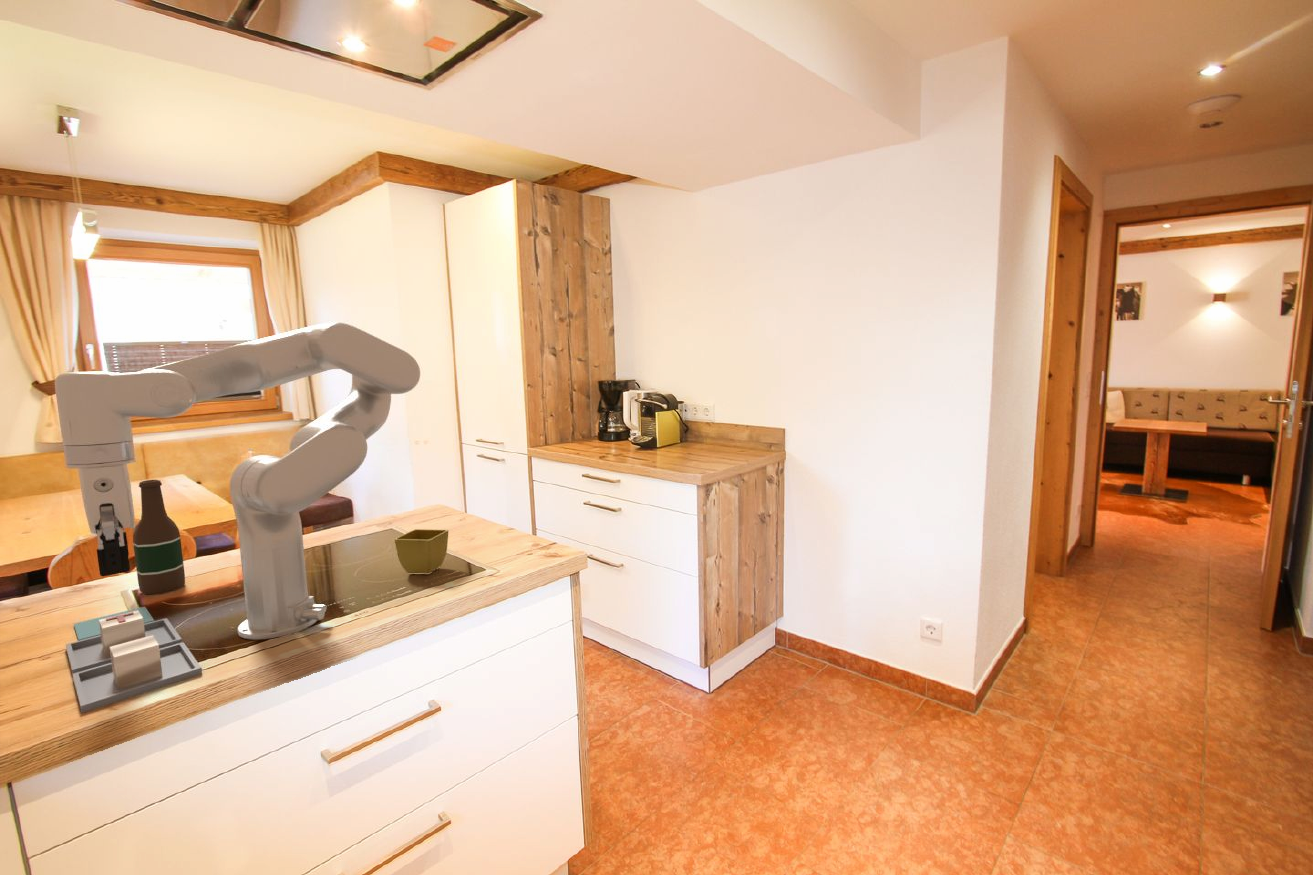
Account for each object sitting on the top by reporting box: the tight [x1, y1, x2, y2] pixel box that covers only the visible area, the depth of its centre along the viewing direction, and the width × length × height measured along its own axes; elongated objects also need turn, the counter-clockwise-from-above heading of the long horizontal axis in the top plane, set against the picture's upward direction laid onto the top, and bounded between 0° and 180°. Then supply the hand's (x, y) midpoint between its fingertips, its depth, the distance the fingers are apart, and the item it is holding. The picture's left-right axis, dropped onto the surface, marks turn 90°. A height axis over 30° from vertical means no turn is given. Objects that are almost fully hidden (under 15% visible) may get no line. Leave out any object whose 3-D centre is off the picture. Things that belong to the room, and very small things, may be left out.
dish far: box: [65, 617, 183, 675], centre depth 98 cm, size 13×13×1 cm
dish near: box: [72, 641, 203, 714], centre depth 88 cm, size 13×13×1 cm
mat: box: [73, 606, 155, 641], centre depth 107 cm, size 10×10×1 cm
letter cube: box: [99, 611, 145, 657], centre depth 97 cm, size 5×5×5 cm
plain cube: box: [110, 635, 163, 690], centre depth 88 cm, size 5×5×5 cm
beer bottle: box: [132, 479, 186, 596], centre depth 124 cm, size 8×8×24 cm
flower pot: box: [394, 528, 449, 574], centre depth 133 cm, size 9×9×9 cm
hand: (115, 565), depth 88 cm, fingers open, 9 cm apart
